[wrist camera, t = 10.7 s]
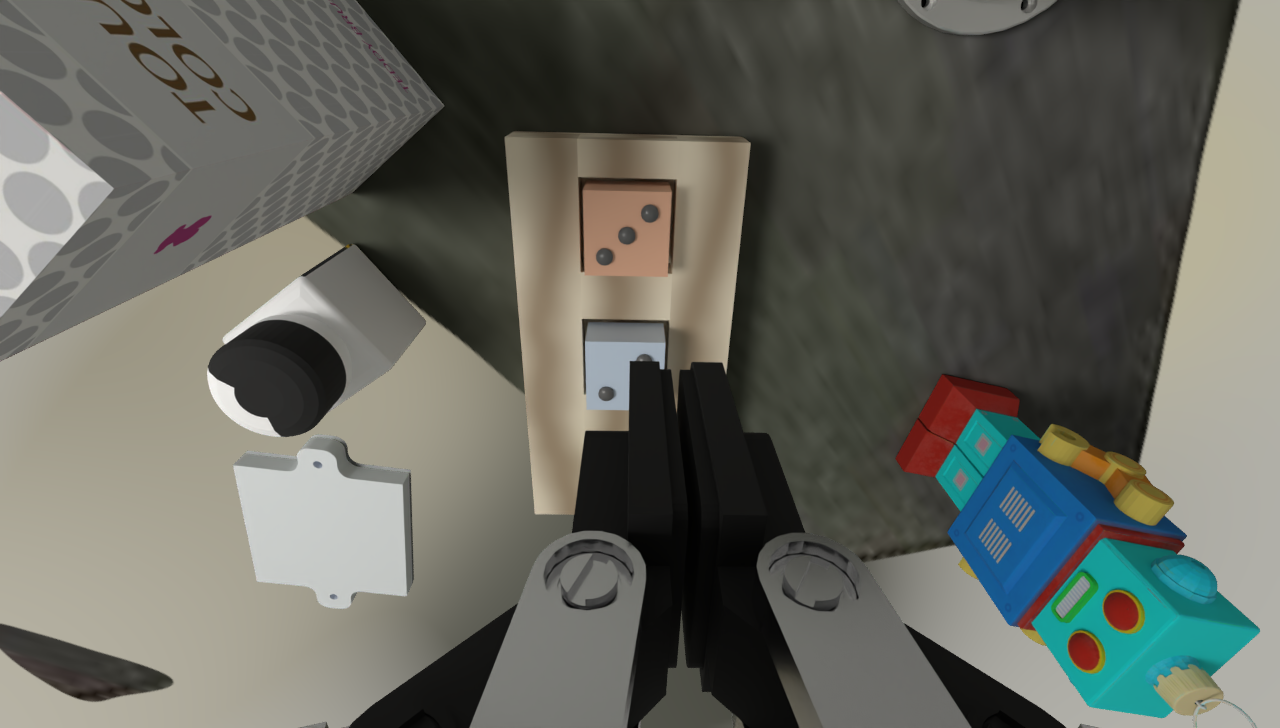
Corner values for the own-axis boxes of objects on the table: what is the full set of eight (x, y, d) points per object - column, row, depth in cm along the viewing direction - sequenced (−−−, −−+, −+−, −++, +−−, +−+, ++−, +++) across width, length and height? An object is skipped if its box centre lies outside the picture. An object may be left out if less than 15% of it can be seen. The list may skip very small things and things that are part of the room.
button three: (668, 182, 35) (671, 193, 32) (665, 261, 37) (667, 278, 35) (586, 180, 35) (582, 190, 32) (588, 259, 37) (584, 276, 35)
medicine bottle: (354, 240, 38) (248, 309, 28) (429, 321, 41) (359, 412, 31) (282, 296, 40) (156, 382, 30) (359, 371, 43) (269, 473, 32)
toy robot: (952, 353, 43) (1293, 667, 21) (1025, 370, 44) (1429, 690, 21) (885, 473, 48) (1101, 826, 26) (951, 486, 49) (1215, 840, 27)
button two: (663, 323, 39) (665, 344, 36) (660, 387, 41) (662, 412, 38) (588, 322, 38) (584, 342, 36) (589, 386, 41) (586, 411, 38)
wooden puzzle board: (741, 136, 36) (750, 142, 33) (706, 491, 49) (710, 515, 46) (514, 131, 35) (504, 137, 33) (540, 489, 48) (534, 514, 46)
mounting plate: (242, 424, 46) (227, 438, 44) (410, 445, 47) (401, 459, 45) (272, 583, 54) (261, 601, 52) (414, 597, 55) (407, 615, 53)
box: (236, 75, 34) (-514, 106, 12) (330, -30, 31) (-384, -240, 9) (351, 193, 37) (-66, 393, 15) (444, 105, 35) (114, 188, 13)
